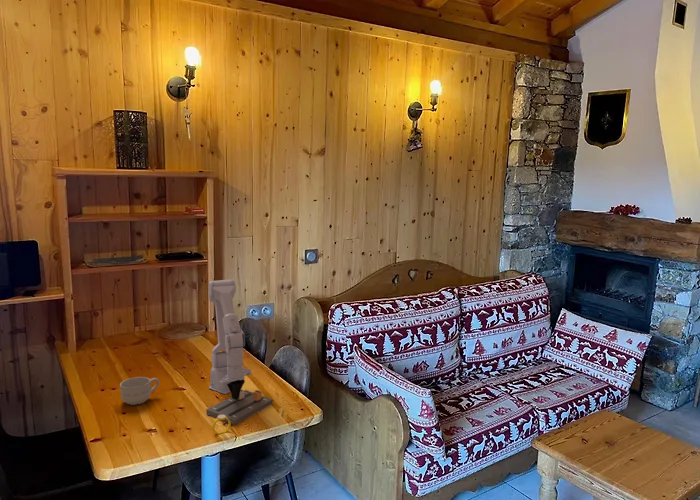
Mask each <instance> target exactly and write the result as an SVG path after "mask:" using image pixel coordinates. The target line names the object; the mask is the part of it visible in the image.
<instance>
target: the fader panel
mask: <svg viewBox="0 0 700 500" xmlns="http://www.w3.org/2000/svg"><path fill="white" fill-rule="evenodd" d="M253 392H254V391H253ZM253 392H252V391H250V390H246V389H244V398H242V399H240V400H239V399H237V400H235V399H232V396H231V397H229V398H226V399H224V400H222V401H221V402H219V403H216V404H214V405H212V406H210V407H209V408H206V410H205V411H206V415H208V416H210V417H212V418H215V419H216V418H217V417H218V416H219V415H225V416H226V417H227V418H228V419H229V420H230V422H231V425H233V426H235V425H238V424H239V423H241V422H243V421H245V420H246V419H248V418H250V417H252V416H254V415H256V414H257V413H259V412H261V411H262V410H264V409H266V408H267V407H270V406H271V405H273V404H274V403H273V402H274V400H273V399H272V398H269V397H267V396H264V395H262V399H260V400H258V401H256V400H253ZM228 419H224V420H222V421H223V422H225V423H228Z"/></svg>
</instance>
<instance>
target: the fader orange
mask: <svg viewBox="0 0 700 500" xmlns="http://www.w3.org/2000/svg"><path fill="white" fill-rule="evenodd" d="M262 396H263V391H262V390H259V389H256V390H254V391H253V400H256V401H258V400H260V399H262Z"/></svg>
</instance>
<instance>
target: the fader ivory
mask: <svg viewBox="0 0 700 500" xmlns="http://www.w3.org/2000/svg"><path fill="white" fill-rule="evenodd" d="M244 391H245V389H242V388H241V391H240V394H239V398H238V399H239V400H240V399H242V398H244Z"/></svg>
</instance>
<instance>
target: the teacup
mask: <svg viewBox="0 0 700 500" xmlns="http://www.w3.org/2000/svg"><path fill="white" fill-rule="evenodd" d="M154 381H155V382H156V383H155V385H154V386H152V383H153V382H154ZM159 385H160V381H159V379H158V378H157V377H152V378H149V377H146V376H135V377H130V378H126V379H124V380H122V381H121V382H120V384H119V388H120V390H119V391H120V398H121V400H122V402H123V403H125V404H127V405H129V404H130V406H135V405H136V406H138V405H141V404H144V403H145V402H147V400H148V399H149V398H150V397H151V394H152V393H153V392H154V391H155V390H156V389H157V387H159ZM151 387H152V388H151ZM137 404H138V405H137Z"/></svg>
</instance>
